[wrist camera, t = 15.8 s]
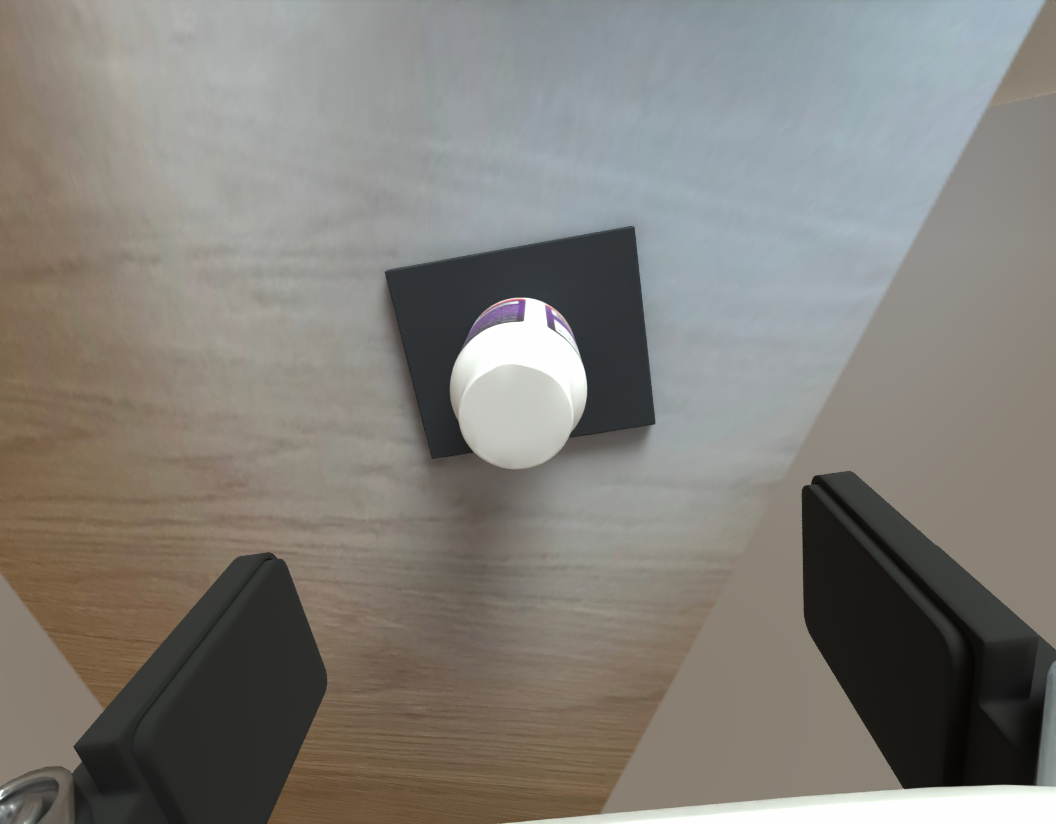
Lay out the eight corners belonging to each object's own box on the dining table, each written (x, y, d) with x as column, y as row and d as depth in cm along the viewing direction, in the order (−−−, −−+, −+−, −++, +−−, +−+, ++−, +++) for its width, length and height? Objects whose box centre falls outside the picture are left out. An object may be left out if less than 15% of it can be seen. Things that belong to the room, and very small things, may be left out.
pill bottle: (459, 389, 30) (425, 471, 21) (478, 285, 28) (450, 324, 19) (562, 411, 30) (573, 501, 21) (587, 309, 28) (612, 359, 19)
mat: (632, 225, 27) (634, 226, 27) (653, 420, 31) (655, 424, 30) (387, 270, 28) (384, 271, 28) (433, 455, 32) (431, 459, 31)
